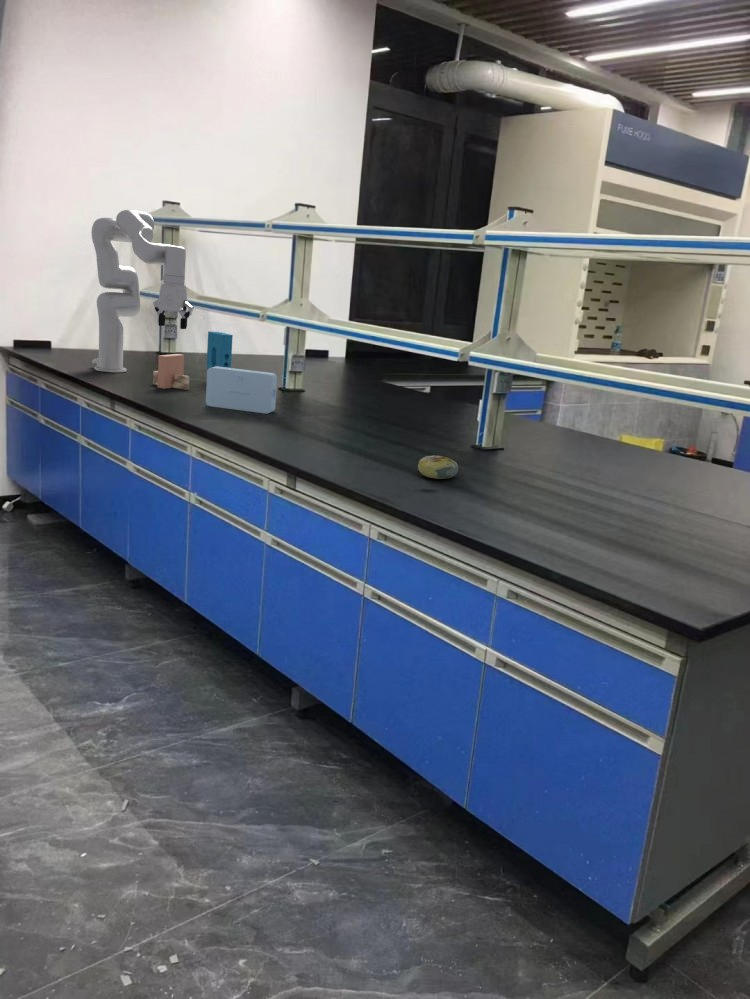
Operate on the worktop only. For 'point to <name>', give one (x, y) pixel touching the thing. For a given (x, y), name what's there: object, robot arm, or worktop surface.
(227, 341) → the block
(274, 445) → the worktop surface
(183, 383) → the slot plate base
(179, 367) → the terracotta plate
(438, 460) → the cell model
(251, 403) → the pale blue box
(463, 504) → the worktop surface
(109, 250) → the robot arm
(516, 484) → the worktop surface
